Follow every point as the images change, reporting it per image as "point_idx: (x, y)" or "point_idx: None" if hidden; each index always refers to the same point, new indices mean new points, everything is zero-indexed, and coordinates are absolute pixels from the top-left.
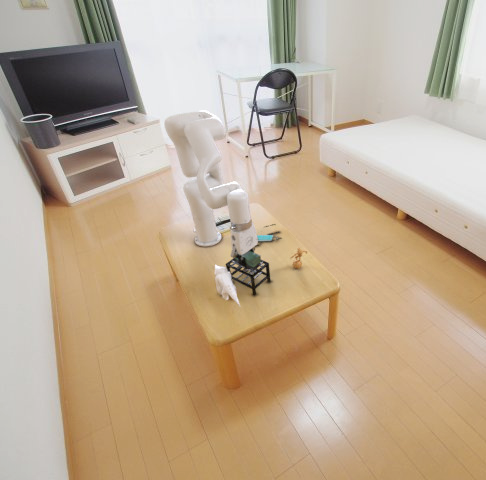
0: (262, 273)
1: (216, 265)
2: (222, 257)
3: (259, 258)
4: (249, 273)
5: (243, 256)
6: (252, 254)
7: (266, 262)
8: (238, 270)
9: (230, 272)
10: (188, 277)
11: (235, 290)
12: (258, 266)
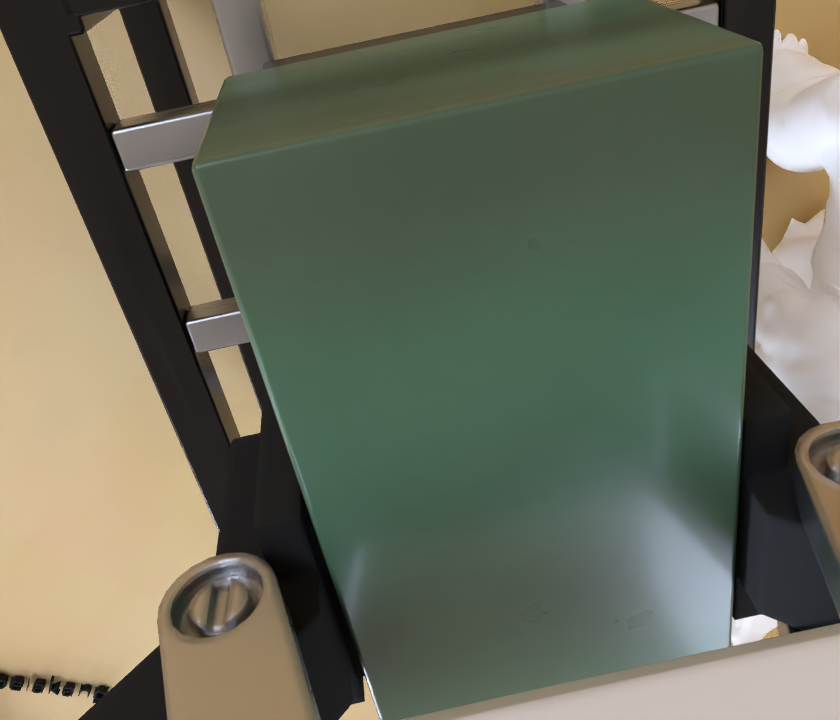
0: (195, 99)
1: (759, 627)
2: (369, 693)
3: (282, 107)
4: (700, 4)
5: (826, 503)
6: (419, 433)
7: (33, 40)
8: (753, 295)
9: (807, 373)
10: (777, 632)
11: (784, 86)
12: (354, 45)
